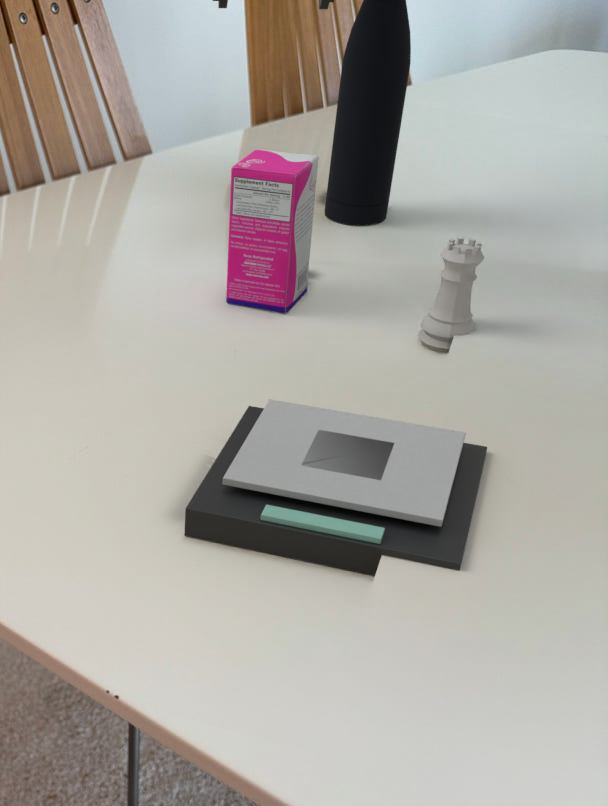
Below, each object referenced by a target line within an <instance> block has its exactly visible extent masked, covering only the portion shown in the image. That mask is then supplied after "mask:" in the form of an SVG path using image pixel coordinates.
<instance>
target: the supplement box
mask: <svg viewBox="0 0 608 806" xmlns="http://www.w3.org/2000/svg"><path fill="white" fill-rule="evenodd" d="M318 167H319V155H316V154H306V153H296V152H295V153H294V152H285V151H277V150H269V149H258V148H256V149H254V150H253V151H252V152H250V153H249V154H248V155H246V156H245V157H243V158H242V159H241V160H240V161H238V162H237V163H236V164H234V165H233V166H232V167H230V168H231V169H230V172H231V173H230V196H229V220H228V226H229V227H228V247H227V268H226V270H227V271H226V293H225V294H226V295H225V303H226V304H229V305H234V306H239V307H244V308H251V309H256V310H260V311H261V310H262V311H268V312H272V313H276V314H282V315H287V314H288V313H289V312H290V311H291V310H292V309H293V307H294V306H295V305H296V304H297V303H298V302H300V300H301V299H302V297H304V295H305V294H306V293H307V292H308V284H309V283H308V281H309V269H310V268H309V267H310V257H311V245H312V234H313V223H314V213H315V203H316V202H315V201H316V190H317V182H318V181H317V179H318Z"/></svg>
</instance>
